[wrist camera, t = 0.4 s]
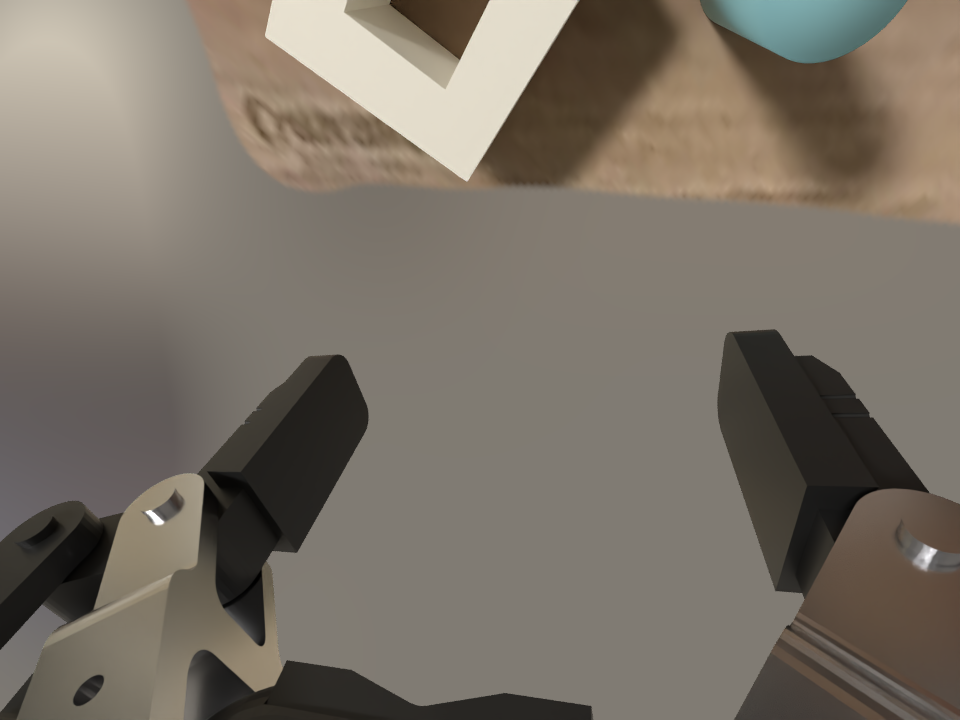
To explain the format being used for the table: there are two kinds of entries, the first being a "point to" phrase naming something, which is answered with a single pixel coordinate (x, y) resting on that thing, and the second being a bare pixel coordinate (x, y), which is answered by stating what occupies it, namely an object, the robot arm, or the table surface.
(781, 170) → the table surface
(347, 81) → the socket block
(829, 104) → the table surface
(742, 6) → the peg
